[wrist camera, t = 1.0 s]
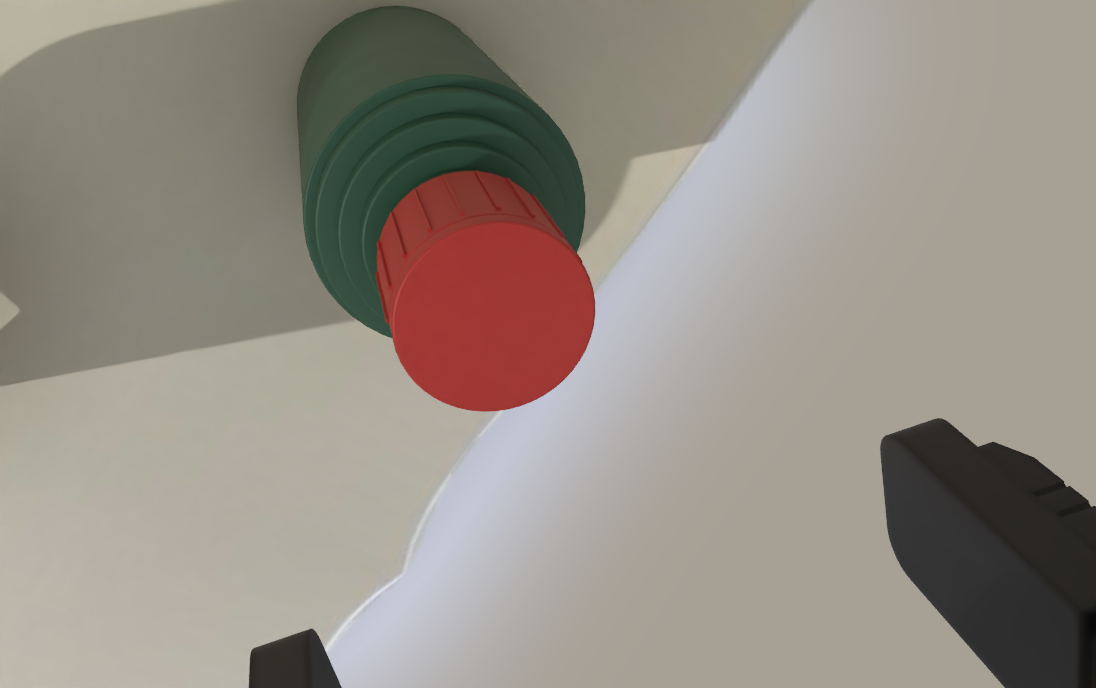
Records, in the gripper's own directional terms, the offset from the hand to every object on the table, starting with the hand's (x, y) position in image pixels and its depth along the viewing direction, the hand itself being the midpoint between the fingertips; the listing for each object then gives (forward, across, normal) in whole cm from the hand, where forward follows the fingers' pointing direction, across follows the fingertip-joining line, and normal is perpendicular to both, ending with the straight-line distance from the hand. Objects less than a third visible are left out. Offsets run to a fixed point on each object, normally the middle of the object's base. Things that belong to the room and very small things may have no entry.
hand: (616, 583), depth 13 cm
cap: (+12, 0, 0) cm, 12 cm away
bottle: (+28, 0, 0) cm, 28 cm away
